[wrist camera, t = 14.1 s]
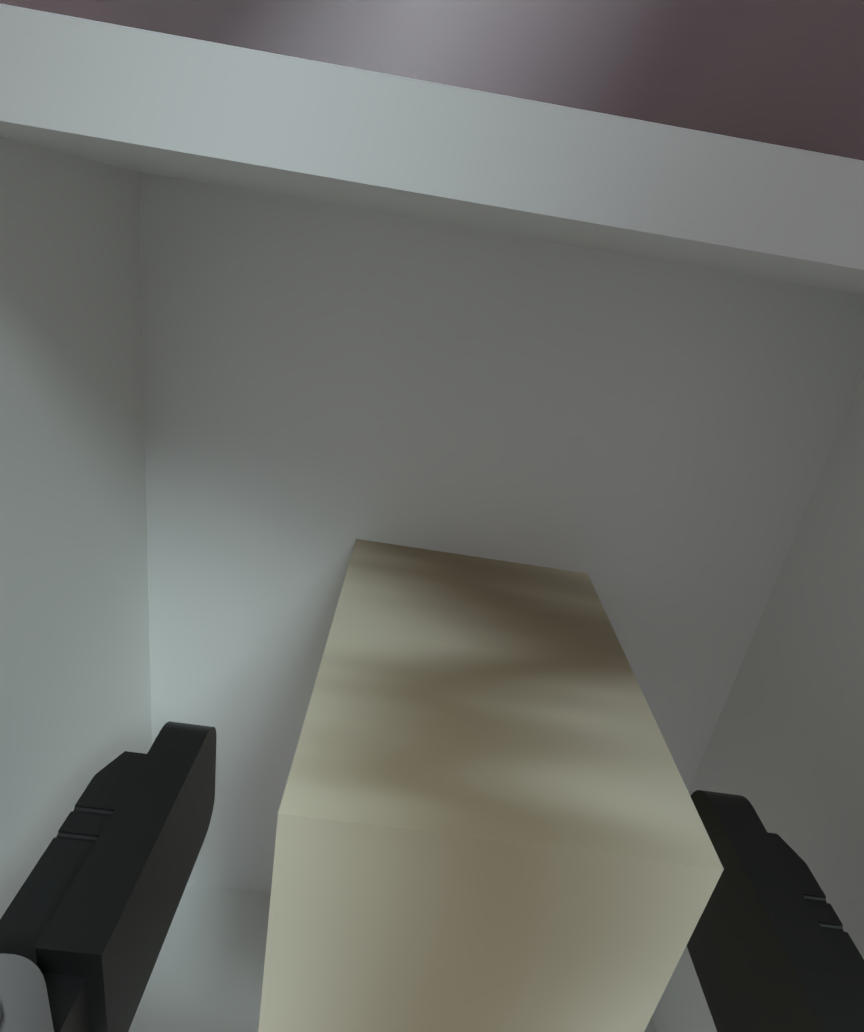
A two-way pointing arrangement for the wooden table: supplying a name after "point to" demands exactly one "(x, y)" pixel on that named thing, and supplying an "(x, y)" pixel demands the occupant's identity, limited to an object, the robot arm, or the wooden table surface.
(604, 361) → the bin
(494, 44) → the wooden table surface
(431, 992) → the birch block
